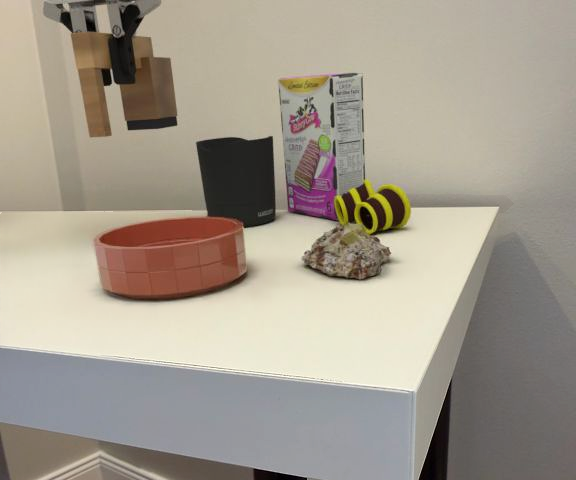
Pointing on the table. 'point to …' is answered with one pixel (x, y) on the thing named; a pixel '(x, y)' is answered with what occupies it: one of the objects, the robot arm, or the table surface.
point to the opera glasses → (373, 207)
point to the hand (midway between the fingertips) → (113, 83)
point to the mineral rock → (347, 252)
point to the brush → (125, 85)
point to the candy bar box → (322, 140)
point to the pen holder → (238, 178)
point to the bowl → (171, 256)
